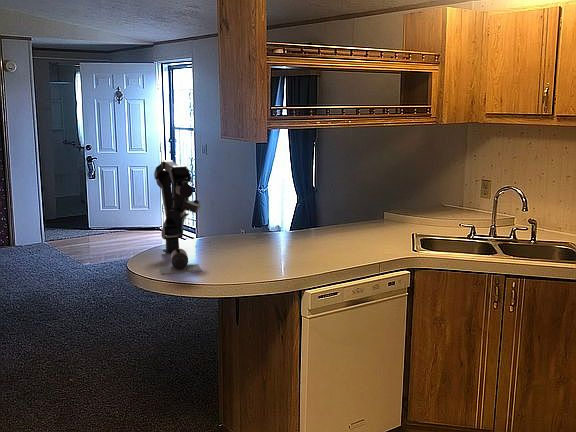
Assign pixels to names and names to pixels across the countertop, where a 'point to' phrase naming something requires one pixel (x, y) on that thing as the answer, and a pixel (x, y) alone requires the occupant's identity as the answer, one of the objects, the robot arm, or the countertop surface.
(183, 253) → the supplement bottle
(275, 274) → the countertop surface
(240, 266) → the countertop surface
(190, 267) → the metal sheet
